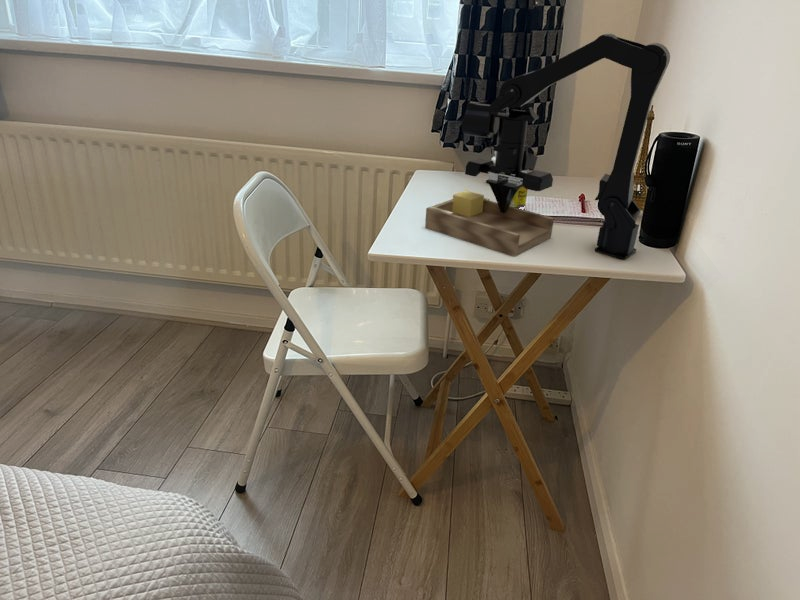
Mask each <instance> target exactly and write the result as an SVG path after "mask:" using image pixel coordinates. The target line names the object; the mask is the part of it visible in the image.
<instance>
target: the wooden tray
mask: <svg viewBox="0 0 800 600" xmlns="http://www.w3.org/2000/svg"><path fill="white" fill-rule="evenodd" d="M452 204H453V198H452V199H449V200H446V201H443V202H441V203H438V204H435V205H431V206H429V207H426V208H425V209H426V210H425V224H424V225H425V227H424V228H425V229H429V230H432V231H434V232H436V233H437V232H438V233H440V234H443V235H447V236H451V237H453V238H456V239H460V240H462V241H465V242H468V243H471V244H475V245H478V246H481V247H484V248H486V247H487V248H486V249H490V250H493V251H495V252H500V253H502V254H505V255H508V256H510V257H511V256H512V257H517V256H519V255H521V254H522V253H524V252H526V251H528V250H531V249H532V248H534V247H535V246H538V245H540V244H541V243H543V242H546V241H547V240H548V241H549V239H551V238H552V233H553V226H554V222H555V221H554V220H555V218H554V217H553V216H548V215H544V214H540V213H537V212H533V211H530V210H525V209H524V210H522V209H519V208H515V207H511V206H509V208H508V210H507V212H506V213H501V212H500V209H499V206H498V203H497V201H492V200H490V198H488V197H484V201H483V211H482V212H481V213H479V214H476V215H474V216H471V217H468V216H465V215H461V214H458V213H454V212H452Z"/></svg>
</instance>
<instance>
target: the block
mask: <svg viewBox="0 0 800 600" xmlns="http://www.w3.org/2000/svg"><path fill="white" fill-rule="evenodd" d="M484 198H485V195H484V194H481V193H477V192H473V191H470V190H464V191H460V192H458V193H455V194H452V199H453V204H452V212H454V213H458V214H461V215H465V216H468V217H471V216H474V215H476V214H479V213H481V212H482V211H483V201H484Z"/></svg>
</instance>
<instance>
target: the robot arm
mask: <svg viewBox="0 0 800 600" xmlns="http://www.w3.org/2000/svg"><path fill="white" fill-rule="evenodd" d="M603 59H607V60H609V61H612V62H614V63H616V64H618V65H621V66H623V67H626V68H629V69H631V72H630V73H631V75H630V99H629V104H628V106H627V107H628V108H627V111H626V115H625V119H624V124H623V127H622V132H621V136H620V138H619V139H620V140H619V144H618V147H617V152H616V156H615V159H614V163H613V167H612V170H611V172H610V174H608V173H604V175H603V176H602V177H601V178H600V180H599V184H598V185H599V186H598V194H597V196H596V197H595V198H594V201H597V210H598V211H599V213H600V214H601V215H602V216H603V217H604V220H603V222H602V226H600V227H599V229H598V234H597V235H598V236H597V241H596V246H597V247H595V248H594V251H595V252H596V253H600V254H604V255H608V256H611V257H614V258H618V259H621V260H626V259H627V258H629V257H631V256H632V255H633V254H635V253H636V252H637V248H635V245H636V240H637V236H638V232H639V228H640V225H639V224H636V223H637V220H638V218H639V216H640V214H641V212H642V211H641V209H640V207H639V206H638V205H637V204H636V202H635V201H634V199H633V195H634V194H633V193H634V170H635V166H636V162H637V158H638V154H639V151H640V148H641V143H642V139H643V136H644V132H645V129H646V125H647V120H648V117H649V113H650V110H651V106H652V102H653V98H654V96H655V94H656V92H657V90H658V89H659V86H660V84H661V82H662V79H663V77H664V75H665V73H666V70H667V68H668V67H669V64H670V60H671V54H670V51H669V49H668V48H667V47H666V46H665V45H664V44H662V43H658V42H652V43H649V44H643V43H640V42H636V41H634V40H633V41H632V40H629V39H626V38H622V37H620V36H616V35H615V34H613V33H605V34H602V35H599V36H598V37H597V38H596V39H595V40H592V41H591V42H588V43H586V44H585V45H583V46H581V47H580V48H578V49H576V50H574V51H572V52H570V53H568V54H565V56H563V57H560V58H558V59H556V60H555V61H553V62H551V63H549V64H547V65H545V66H543V67H542V68H540V69H536V70H532V71H530V72H527V73H523V74H520V75H518V76H517V75H516V76H514V77H511V78H508V79H506V80H504V81H503V82H502V84H501V85H500V88H499V90H498V91H499V92H498V96H496V98H495V99H494V101H492V103H491V104H486V103H480V102H476V101H469V102H468V103H467V108H466V110H465V112H464V115H463V119H462V122H461V131H462V135H465V136H470V137H479V138H486V139H487V138H488V139H491V137H493V135H496V134H497V144H495V145H493V149H492V151H493V152H495V151H496V161H495V164H494V162H493V161H492V160H490V159H487V158H482V157H481V158H480V157H479V158H475V159H472V160H468V161H467V163H466V164H465V165H464V168H465V169H464V175H467V176H471V177H478V175H479V174H480V173H482V174H483V173H484V174H487V175H488V177H487V180H485V183H486V184H487V185H489V187H490V189H491V191H492V193H493V195H494V198H495V200H496V201H495V202H497V203H498V206H499V209H500V212H501V213H506V212H507V210H508V208H509V206H510V204H511V202H512V200H513V198H514V196H515V194H516V192H517V191H518V190H519V188H520V187H523V186H524V188H525V189H528V190H530V191H534V192H541V191H543V190H544V191H545V190H546V189H548V188H551V187H553V182H554V178H553V175H552V174H551V172H546V171H543V170H537V169H536V170H535V167H536V164H537V160H538V156H537V155H535V154H532V153H530V152H529V147H528V145H526V139H527V138H526V137H527V130H528V122H535V121H536V120H538V119H539V117H540V116H539V115H538V114H537V113H536V112H535V110H534V108H533V107H532V106H531V107H528V108H527V109H526V110H520V109H517V108H521V107H522V106H525V105H526V104H528V103H529V102H531V101H532V100H534V99H535V98H536V97H538V96H539V95H540V94H542V93H543V92H544V91H545V90H547V89H548V88H549V87H550V86H552V85H555V84H556V83H558V82H560V81H562V80H563V79H565V78H567V77H569V76H572V75H573V74H576V73H577V72H580V71H582V70H583V69H585V68H587V67H589V66H591V65H593V64H595V63H597V62H599V61H601V60H603ZM507 109H511V111H509V112H507V113H505V112H502V111H504V110H507ZM522 170H524V171H525V170H527V171H528V170H529V171H530V172H527V173H524V172H522ZM501 172H503V173H501ZM511 174H513V175H511ZM514 175H515V176H514Z"/></svg>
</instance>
